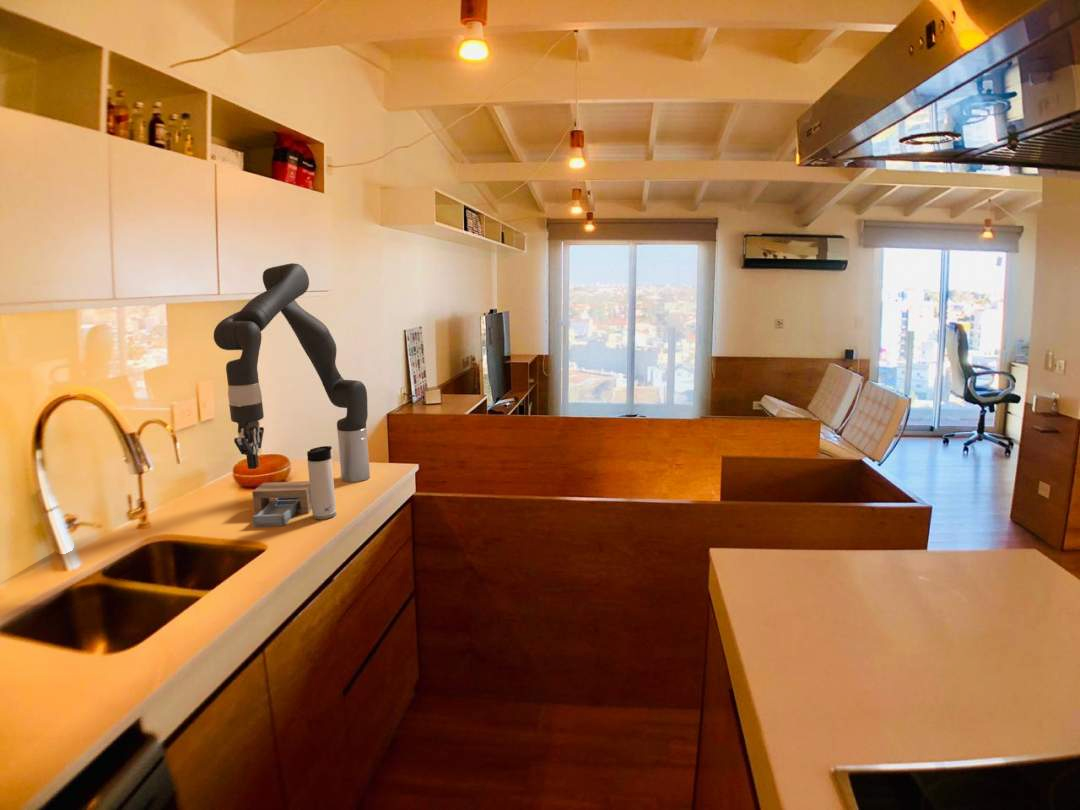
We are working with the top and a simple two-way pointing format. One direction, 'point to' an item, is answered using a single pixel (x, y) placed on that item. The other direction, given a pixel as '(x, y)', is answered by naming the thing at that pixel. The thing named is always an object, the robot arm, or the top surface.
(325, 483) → the travel mug
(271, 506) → the tray shell
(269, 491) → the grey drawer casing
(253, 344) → the robot arm
